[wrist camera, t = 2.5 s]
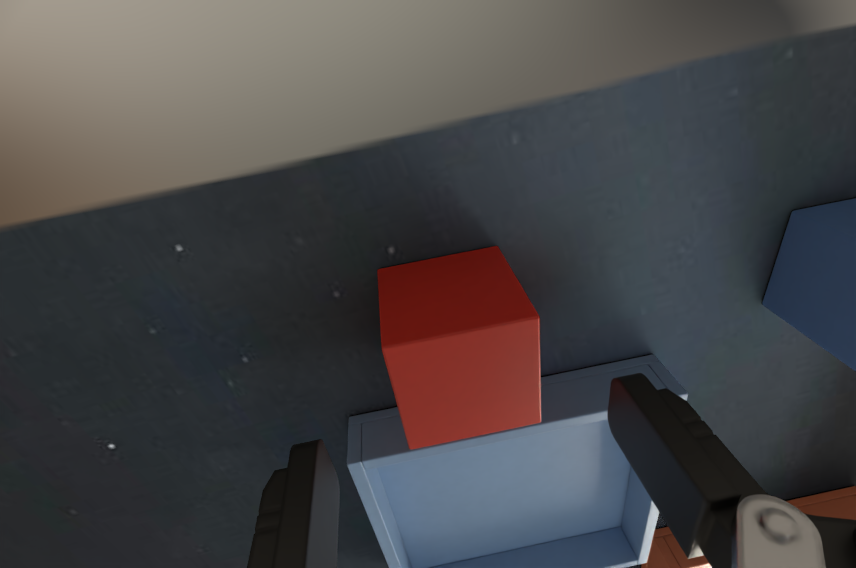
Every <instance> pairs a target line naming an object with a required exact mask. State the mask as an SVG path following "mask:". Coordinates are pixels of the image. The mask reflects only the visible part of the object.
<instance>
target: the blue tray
mask: <svg viewBox="0 0 856 568" xmlns="http://www.w3.org/2000/svg"><path fill="white" fill-rule="evenodd" d="M636 373H642V374H644V375H645V376H646V377H647V378H648V379H649V381H650V382H651V383H652V384H653V385H654V387H655V388H656V389H657V390H660V389H664V388H667V389H669V390H670V391H672V392H673V393H675V394H677V395H678V396H680V397H681V398H683V399H684V400H687V396H688V393H687V392H686V391H685V390H684V388H683V387H682V386H681V385H680V384H679V383H678V381H677V380H676V379H675V378H674V377H673V376H672V375H671V373H670V372H669V371H668V370H667V369H666V368H665V366H664V365H663V364H662V363H661V362H659V360H658V358H657V357H656V356H655V355H654V354H652V355H647V356H643V357H638V358H633V359H628V360H623V361H618V362H613V363H609V364H604V365H599V366H594V367H589V368H584V369H579V370H575V371H570V372H565V373H560V374H555V375H550V376H545V377H541V422H540V423H537V424H532V425H527V426H522V427H518V428H513V429H508V430H503V431H498V432H494V433H489V434H484V435H479V436H474V437H470V438H465V439H460V440H455V441H451V442H446V443H441V444H436V445H431V446H427V447H422V448H417V449H412V450H411V449H409V446H408V443H407V439H406V436H405V432H404V428H403V425H402V421H401V417H400V414H399V410H398V407H395V408H390V409H385V410H380V411H375V412H371V413H366V414H361V415H356V416H351V417H349V423H348V425H349V426H348V448H347V466H348V469H349V471H350V473H351V476H352V478H353V481H354V483H355V486H356V488H357V491H358V493H359V495H360V498H361V500H362V503H363V505H364V508H365V510H366V512H367V515H368V517H369V520H370V522H371V525H372V527H373V530H374V532H375V534H376V537H377V539H378V542H379V544H380V547H381V549H382V551H383V554H384V556H385V559H386V561H387V564H388V566H389V568H625V567H630V566H634V565H639V564H644V563H647V560H648V556H649V552H650V548H651V543H652V539H653V535H654V531H655V527H656V523H657V519H658V515H659V511H658V509H657V507H656V506H655V504H654V502H653V501H652V499H651V498H650V496H649V494H648V493H647V491H646V489H645V488H644V486H643V484H642V483H641V481H640V480H639V478H638V476H637V475H636V473H635V471H634V470H633V468H632V466H631V465H630V463H629V462H628V460H627V458H626V457H625V455H624V453H623V452H622V450H621V449H620V447H619V445H618V444H617V442H616V440H615V439H614V437H613V435H612V433H611V430H610V427H609V424H608V417H607V414H608V405H609V395H610V386H611V381H612V379H613V378H617V377H622V376H626V375H631V374H636Z"/></svg>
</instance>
